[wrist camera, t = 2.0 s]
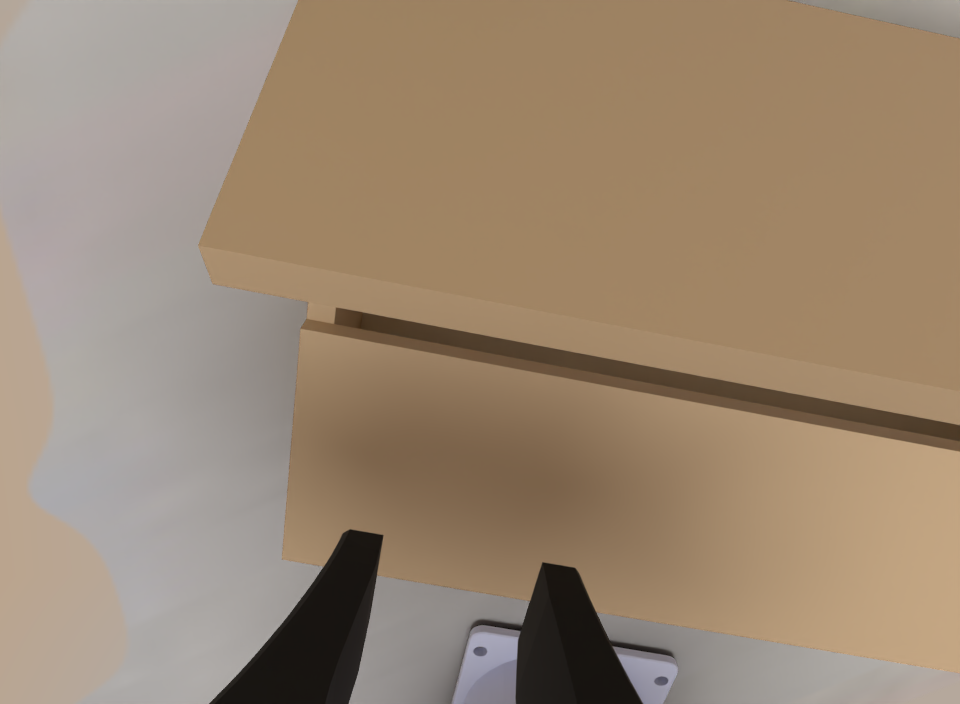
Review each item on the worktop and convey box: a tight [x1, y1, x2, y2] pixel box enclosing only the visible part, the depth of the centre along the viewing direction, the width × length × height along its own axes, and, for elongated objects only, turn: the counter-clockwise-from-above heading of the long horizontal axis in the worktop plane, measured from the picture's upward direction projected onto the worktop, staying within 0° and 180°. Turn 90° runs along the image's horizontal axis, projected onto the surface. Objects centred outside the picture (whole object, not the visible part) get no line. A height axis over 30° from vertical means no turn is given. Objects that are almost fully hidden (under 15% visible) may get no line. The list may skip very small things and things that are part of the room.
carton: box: [282, 302, 960, 673], centre depth 17 cm, size 14×20×6 cm
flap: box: [198, 0, 960, 425], centre depth 10 cm, size 7×20×1 cm
